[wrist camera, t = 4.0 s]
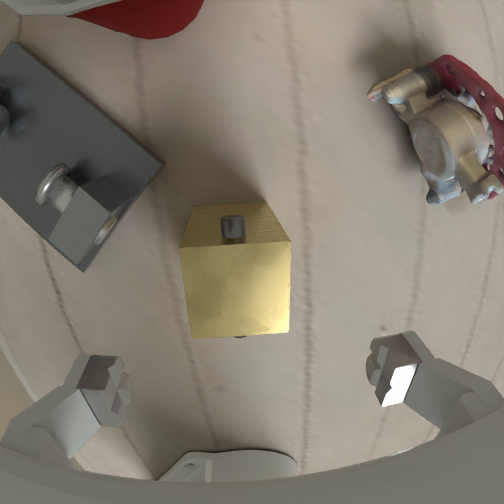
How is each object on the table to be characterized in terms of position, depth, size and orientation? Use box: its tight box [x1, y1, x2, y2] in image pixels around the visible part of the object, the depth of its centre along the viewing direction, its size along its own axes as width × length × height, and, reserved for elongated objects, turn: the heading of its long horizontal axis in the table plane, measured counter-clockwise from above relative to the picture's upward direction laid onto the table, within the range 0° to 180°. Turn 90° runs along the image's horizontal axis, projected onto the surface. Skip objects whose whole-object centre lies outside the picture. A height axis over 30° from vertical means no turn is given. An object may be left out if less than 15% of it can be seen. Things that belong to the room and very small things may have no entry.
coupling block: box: [179, 202, 291, 339], centre depth 19 cm, size 7×5×8 cm
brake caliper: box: [367, 55, 504, 205], centre depth 17 cm, size 11×10×11 cm
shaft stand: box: [0, 40, 165, 273], centre depth 16 cm, size 10×17×5 cm, turn 47°
